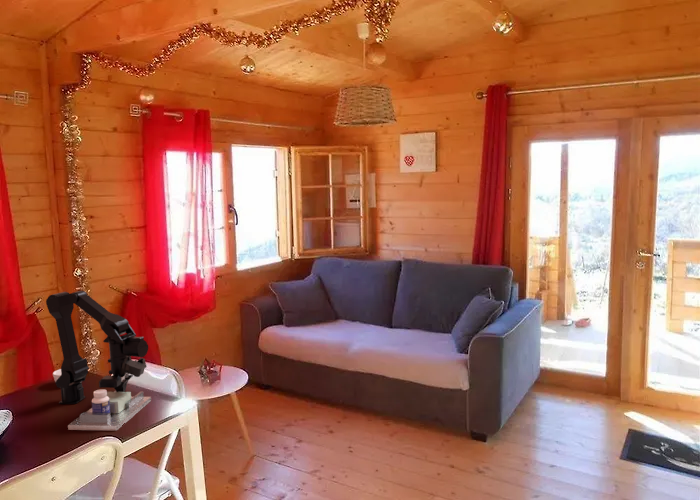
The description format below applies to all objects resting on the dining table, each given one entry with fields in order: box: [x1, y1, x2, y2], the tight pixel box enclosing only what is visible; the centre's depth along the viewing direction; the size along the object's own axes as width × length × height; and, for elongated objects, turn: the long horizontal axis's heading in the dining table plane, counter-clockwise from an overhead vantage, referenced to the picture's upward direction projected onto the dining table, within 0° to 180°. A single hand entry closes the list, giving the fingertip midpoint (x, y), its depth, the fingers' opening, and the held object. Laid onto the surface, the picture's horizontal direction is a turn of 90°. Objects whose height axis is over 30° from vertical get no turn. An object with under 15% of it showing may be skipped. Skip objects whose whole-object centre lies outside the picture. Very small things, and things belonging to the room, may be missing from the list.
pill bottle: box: [91, 388, 110, 413], centre depth 183 cm, size 5×5×9 cm
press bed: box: [67, 390, 152, 432], centre depth 190 cm, size 16×25×4 cm, turn 175°
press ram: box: [106, 391, 132, 413], centre depth 191 cm, size 8×10×4 cm
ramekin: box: [52, 368, 82, 383], centre depth 222 cm, size 11×11×5 cm
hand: (122, 397), depth 197 cm, fingers closed
